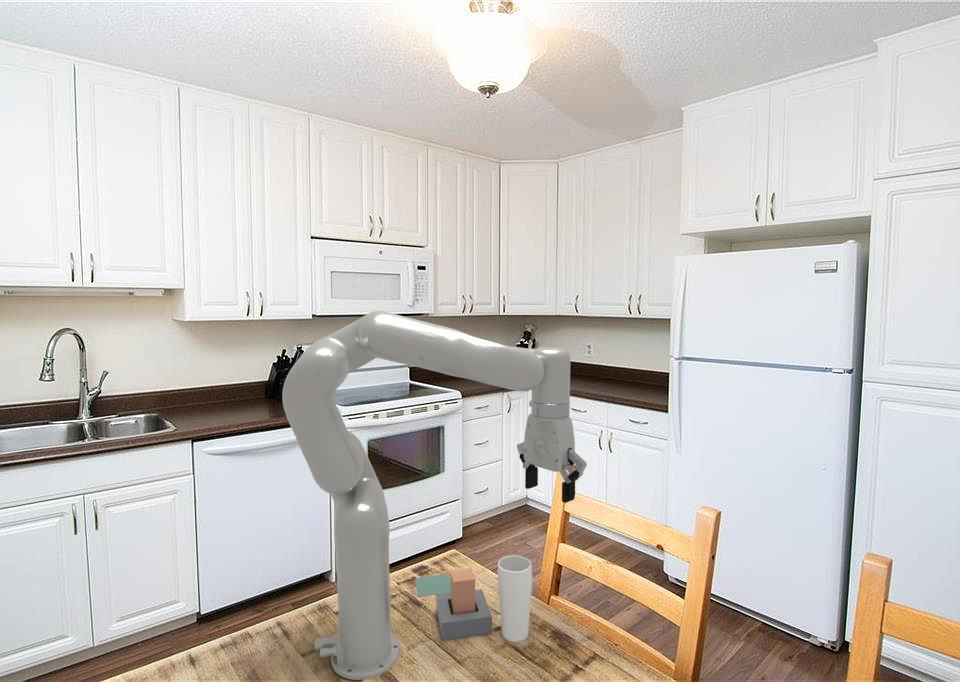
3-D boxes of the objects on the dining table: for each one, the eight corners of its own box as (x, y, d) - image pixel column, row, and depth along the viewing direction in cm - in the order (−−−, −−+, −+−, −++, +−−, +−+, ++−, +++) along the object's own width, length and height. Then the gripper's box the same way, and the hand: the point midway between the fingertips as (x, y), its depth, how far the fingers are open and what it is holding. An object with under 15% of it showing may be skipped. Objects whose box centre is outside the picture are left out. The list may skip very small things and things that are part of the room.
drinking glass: (530, 649, 100) (530, 573, 98) (495, 644, 101) (494, 570, 100) (533, 627, 106) (533, 556, 105) (501, 623, 108) (500, 553, 106)
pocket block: (442, 642, 102) (441, 623, 102) (436, 612, 112) (436, 594, 111) (492, 635, 104) (491, 616, 103) (482, 606, 114) (481, 589, 113)
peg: (454, 629, 105) (453, 581, 104) (451, 616, 109) (450, 570, 109) (475, 626, 106) (475, 579, 105) (471, 613, 110) (471, 568, 109)
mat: (417, 598, 117) (417, 596, 117) (415, 579, 125) (415, 577, 125) (453, 594, 118) (453, 592, 118) (448, 576, 126) (448, 574, 126)
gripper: (506, 405, 107) (505, 486, 109) (573, 420, 94) (571, 512, 96) (531, 401, 112) (530, 478, 114) (597, 414, 99) (596, 501, 101)
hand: (549, 493), depth 105 cm, fingers open, 9 cm apart
